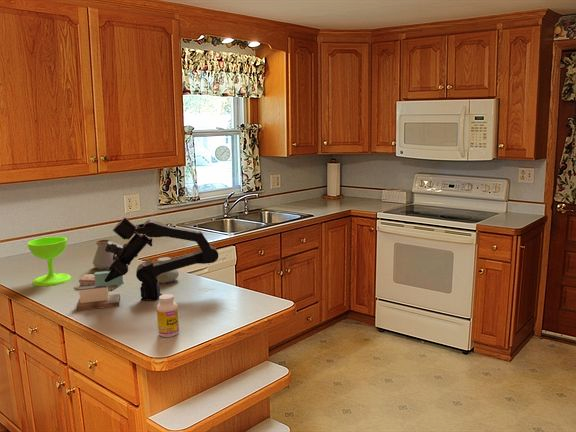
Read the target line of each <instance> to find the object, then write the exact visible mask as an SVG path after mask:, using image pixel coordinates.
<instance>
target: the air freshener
mask: <svg viewBox="0 0 576 432" xmlns="http://www.w3.org/2000/svg"><path fill="white" fill-rule="evenodd" d="M170 259H172V258H171V257H169V256H168V257H167V256H166V257H160V258H157V260H156V261H157V262H156V263H160V262H163V261H167V260H170ZM178 277H179V271H178V269H176V270H172V271H168V272H165V273H162V274H160V275H158V276H157V278H158V281H159V284H169V283H172V282H174V281H175V280H176V279H178Z"/></svg>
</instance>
